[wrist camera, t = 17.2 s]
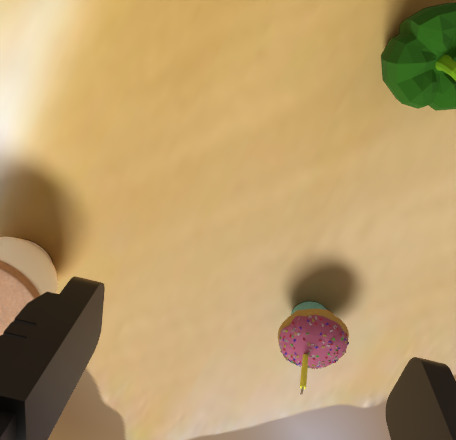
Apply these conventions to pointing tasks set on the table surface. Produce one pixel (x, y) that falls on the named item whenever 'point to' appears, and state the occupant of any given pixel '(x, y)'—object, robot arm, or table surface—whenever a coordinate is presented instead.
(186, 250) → the table surface
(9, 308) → the lidded sugar bowl
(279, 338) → the cupcake
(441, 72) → the bell pepper
